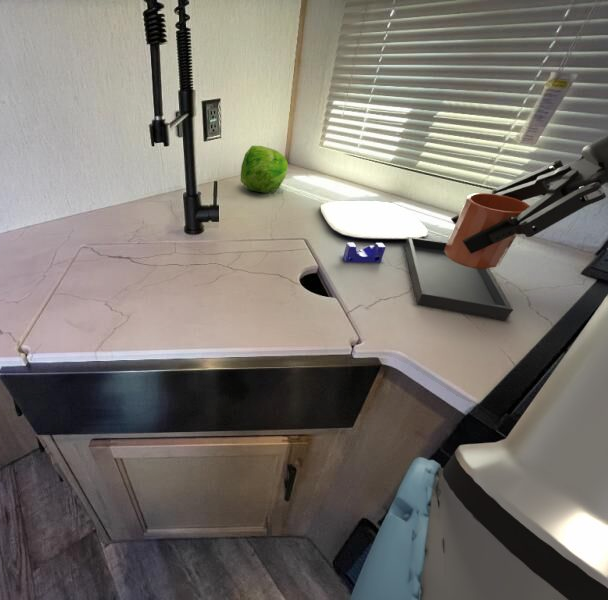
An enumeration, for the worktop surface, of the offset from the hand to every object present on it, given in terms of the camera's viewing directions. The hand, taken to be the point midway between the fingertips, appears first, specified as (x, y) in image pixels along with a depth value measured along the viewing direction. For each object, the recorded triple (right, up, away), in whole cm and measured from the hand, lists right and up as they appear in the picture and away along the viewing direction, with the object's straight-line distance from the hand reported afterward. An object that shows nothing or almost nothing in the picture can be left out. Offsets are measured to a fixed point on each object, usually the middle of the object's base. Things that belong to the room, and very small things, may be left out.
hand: (460, 235), depth 64 cm
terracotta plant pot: (+3, -4, +2) cm, 5 cm away
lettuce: (-28, +26, +56) cm, 67 cm away
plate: (-2, +10, +33) cm, 35 cm away
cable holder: (-11, -2, +17) cm, 21 cm away
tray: (+5, -7, +10) cm, 14 cm away
